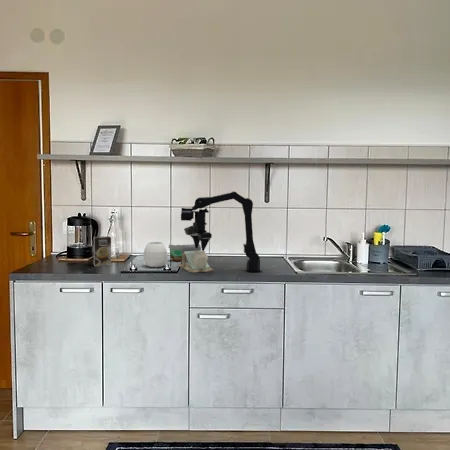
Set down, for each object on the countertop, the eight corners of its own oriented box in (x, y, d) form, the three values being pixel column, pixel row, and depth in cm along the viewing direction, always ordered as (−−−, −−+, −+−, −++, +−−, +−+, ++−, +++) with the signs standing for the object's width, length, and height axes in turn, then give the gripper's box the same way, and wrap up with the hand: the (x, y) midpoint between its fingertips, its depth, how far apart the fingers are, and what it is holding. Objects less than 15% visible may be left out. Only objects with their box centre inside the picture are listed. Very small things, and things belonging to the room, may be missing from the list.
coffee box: (94, 266, 262) (94, 237, 260) (93, 264, 268) (93, 236, 266) (111, 265, 265) (111, 237, 264) (109, 263, 271) (109, 236, 270)
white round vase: (140, 265, 269) (140, 241, 268) (162, 263, 275) (162, 240, 274) (147, 269, 258) (147, 244, 256) (170, 267, 264) (170, 243, 262)
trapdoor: (197, 249, 273) (198, 242, 271) (208, 271, 258) (210, 264, 256) (180, 250, 269) (182, 243, 267) (191, 272, 254) (193, 265, 252)
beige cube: (202, 259, 261) (204, 250, 258) (205, 266, 257) (208, 257, 254) (192, 260, 259) (194, 251, 256) (195, 267, 254) (197, 258, 251)
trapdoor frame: (199, 264, 274) (200, 251, 273) (213, 270, 257) (213, 256, 256) (178, 266, 269) (178, 252, 268) (190, 272, 251) (190, 257, 250)
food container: (169, 262, 280) (169, 245, 279) (168, 260, 286) (168, 244, 285) (189, 262, 282) (190, 245, 281) (188, 260, 288) (188, 243, 287)
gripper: (180, 219, 260) (179, 247, 261) (192, 222, 243) (192, 252, 245) (198, 219, 264) (198, 246, 266) (212, 222, 248) (211, 251, 249)
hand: (199, 249), depth 256 cm, fingers open, 9 cm apart
